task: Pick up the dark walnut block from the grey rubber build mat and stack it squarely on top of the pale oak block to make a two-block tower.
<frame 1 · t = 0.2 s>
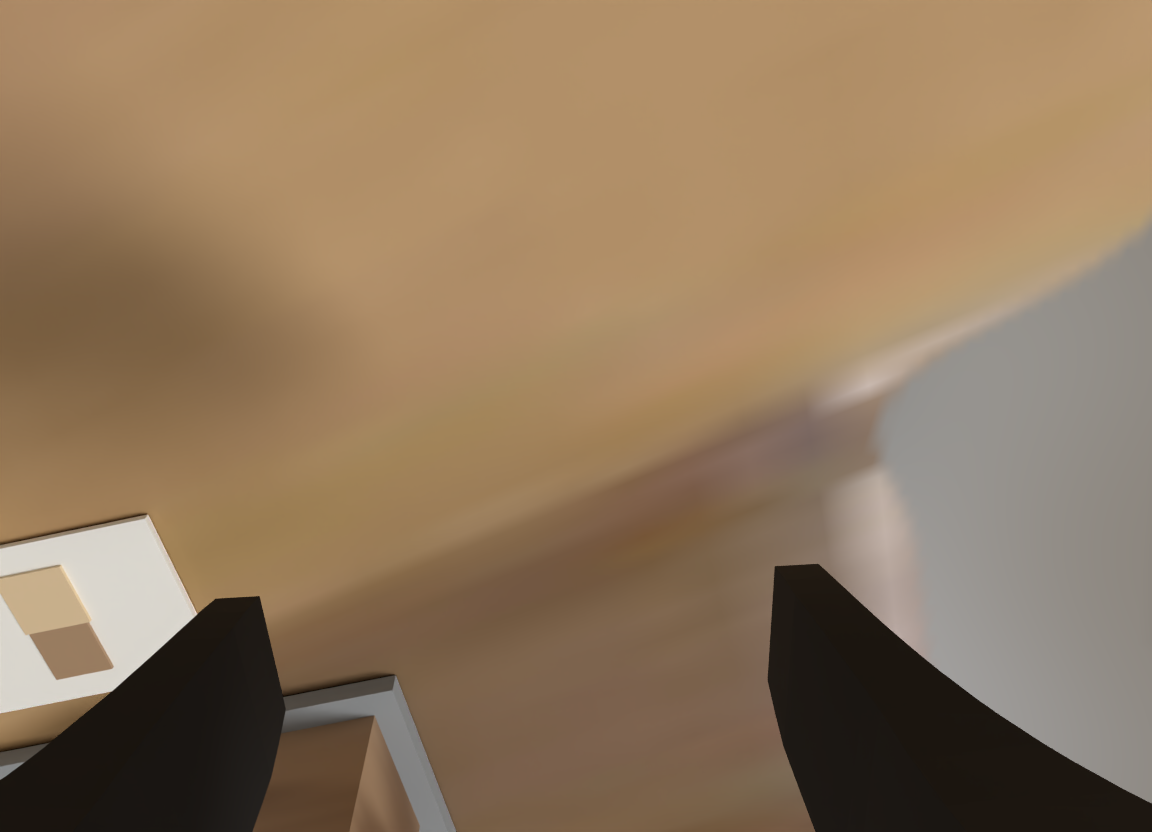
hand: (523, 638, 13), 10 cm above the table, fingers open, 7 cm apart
instruction card: (61, 618, 24), on the table
walnut block: (323, 786, 27), point 1 cm above the table, touching build mat
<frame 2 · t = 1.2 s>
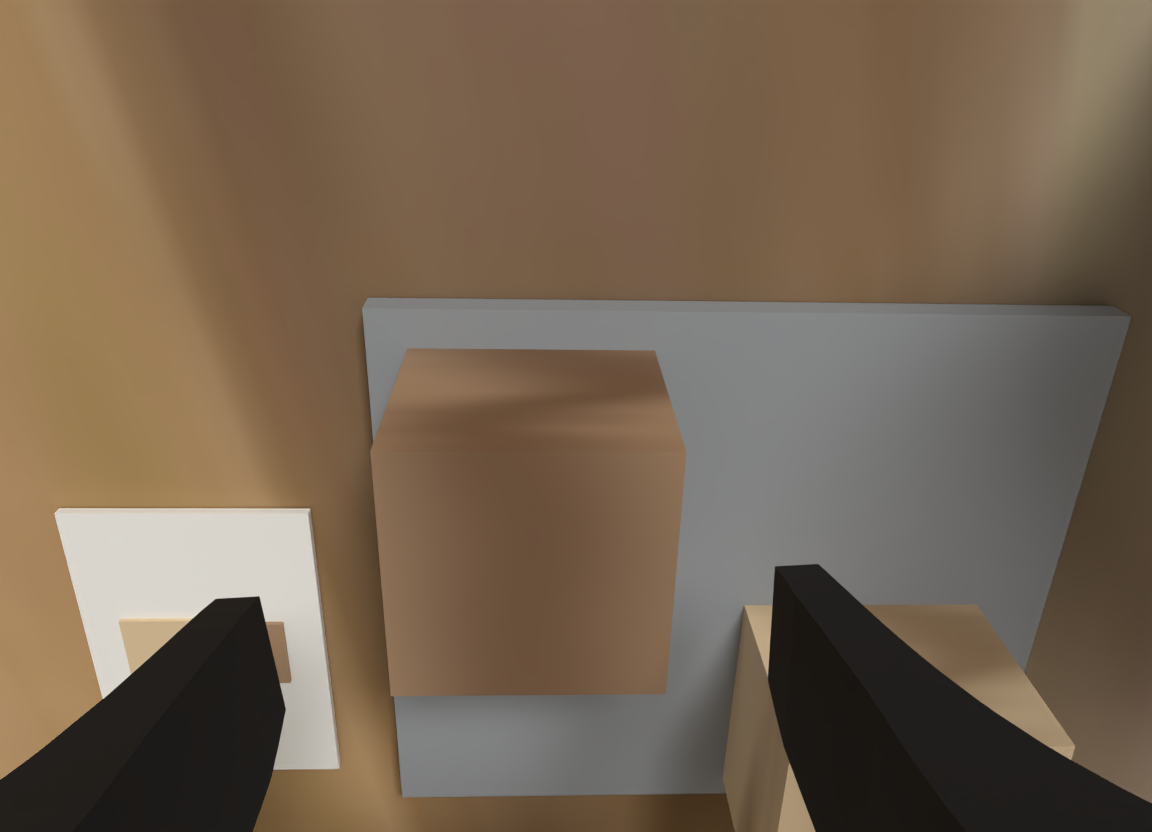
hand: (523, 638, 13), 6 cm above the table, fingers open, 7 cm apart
oak block: (843, 695, 20), point 1 cm above the table, touching build mat
instruction card: (211, 645, 20), on the table
walnut block: (531, 458, 18), point 1 cm above the table, touching build mat
build mat: (718, 569, 20), on the table
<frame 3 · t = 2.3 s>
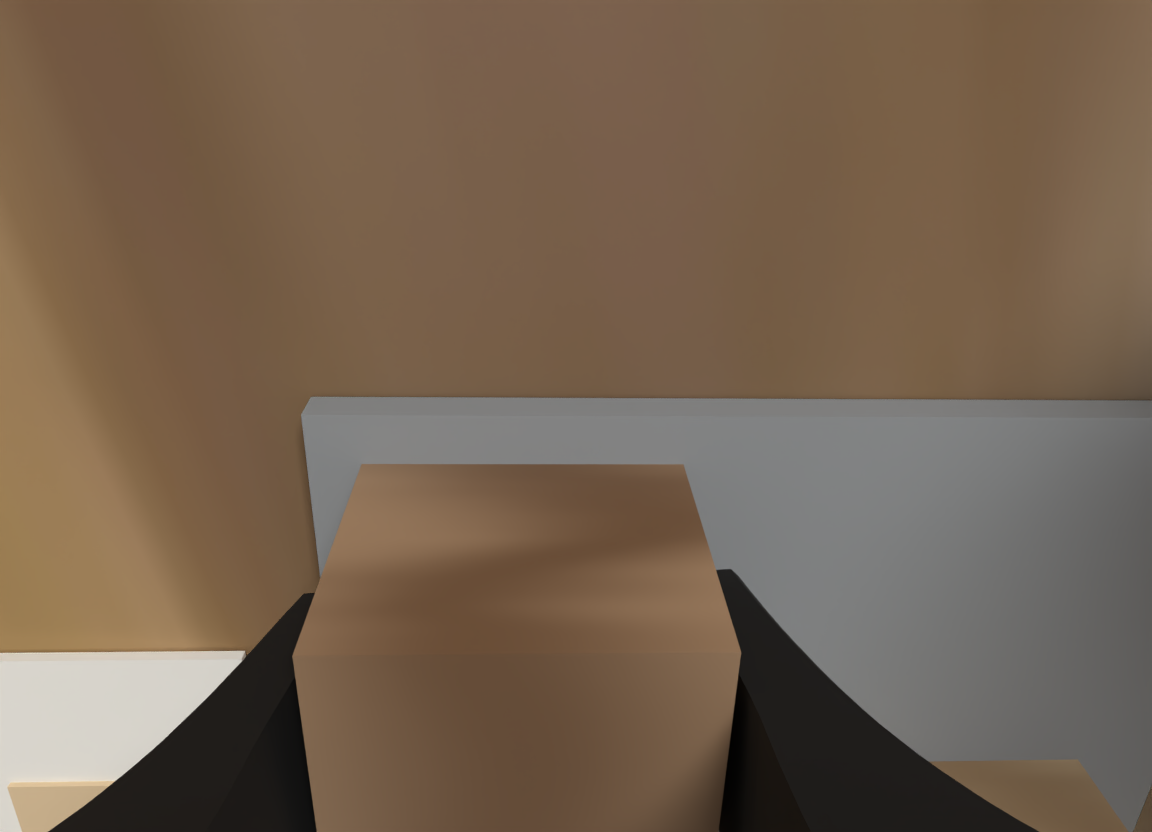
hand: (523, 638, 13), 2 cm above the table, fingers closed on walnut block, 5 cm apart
instruction card: (127, 809, 16), on the table
walnut block: (524, 595, 14), point 1 cm above the table, touching build mat, gripper
build mat: (756, 715, 16), on the table
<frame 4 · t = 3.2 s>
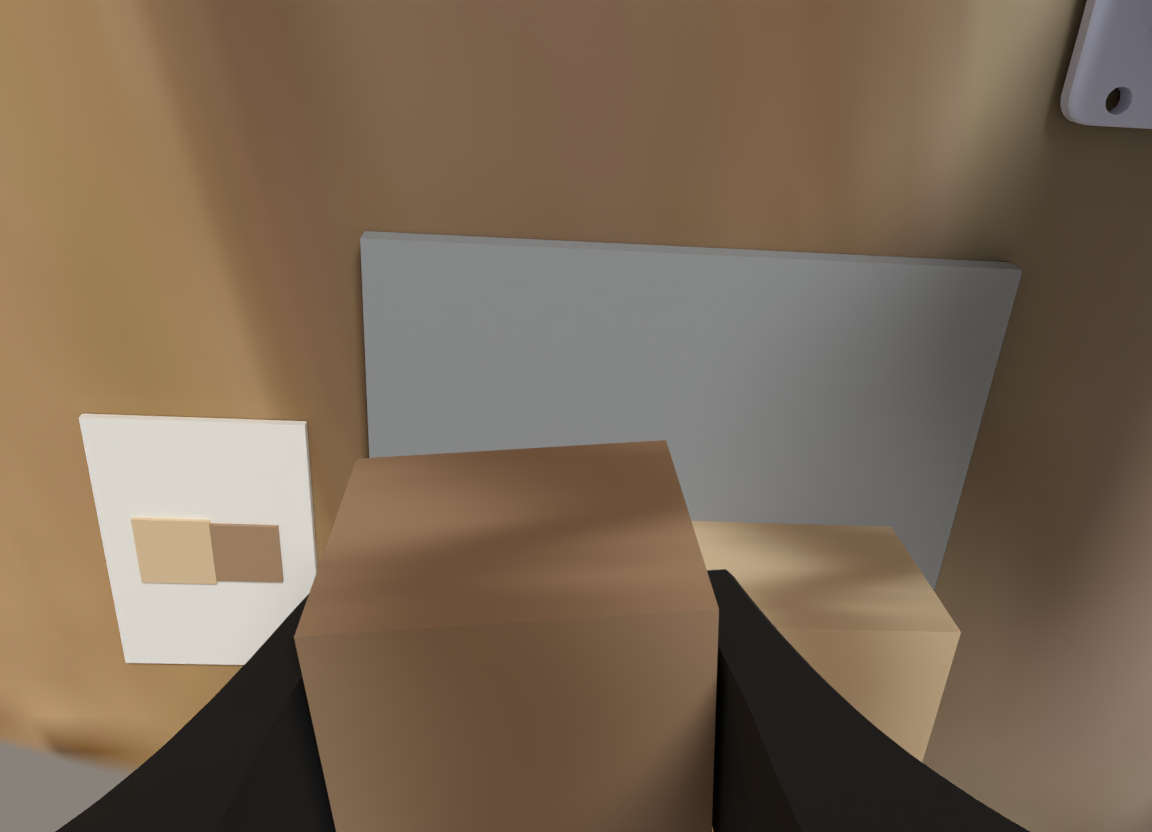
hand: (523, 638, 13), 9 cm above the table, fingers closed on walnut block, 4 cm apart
oak block: (774, 607, 23), point 1 cm above the table, touching build mat
instruction card: (212, 546, 22), on the table
walnut block: (522, 577, 14), point 7 cm above the table, touching gripper
build mat: (666, 489, 22), on the table
when the fingers open (7 cm above the table, at t = 4.6 s): walnut block stays where it is, resting on oak block.
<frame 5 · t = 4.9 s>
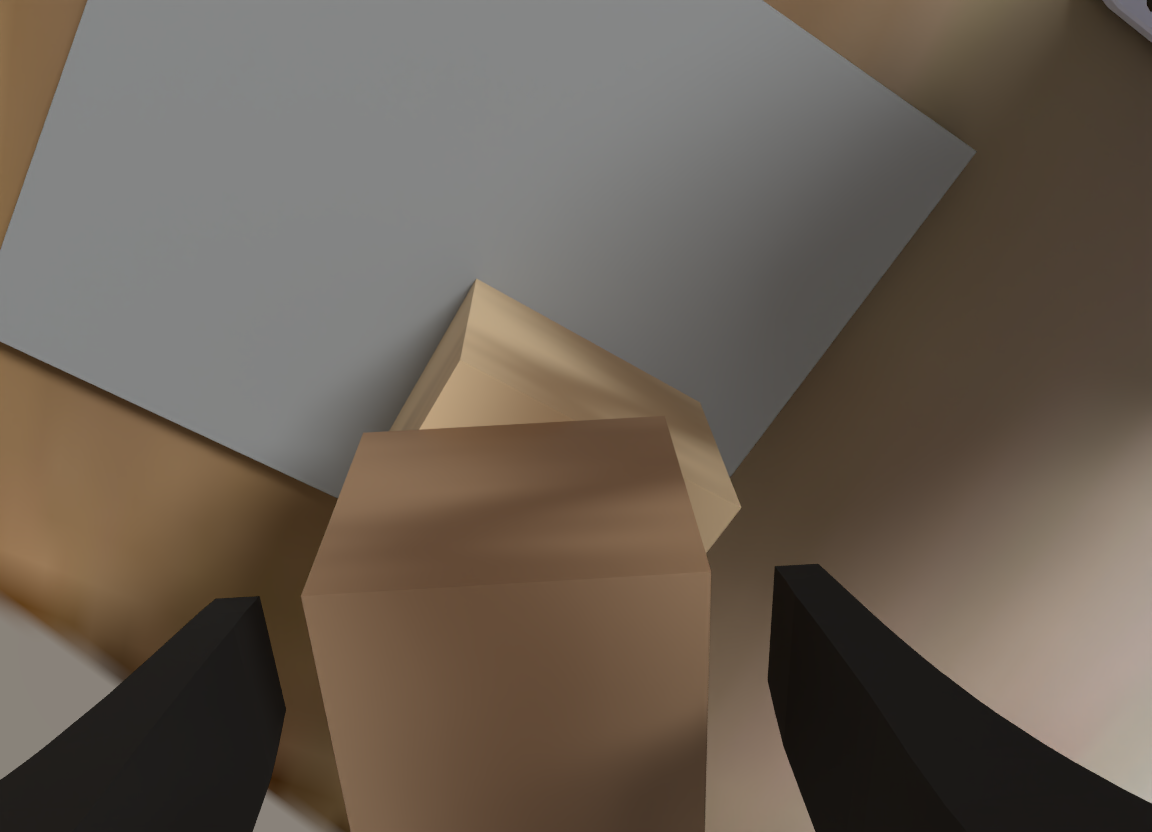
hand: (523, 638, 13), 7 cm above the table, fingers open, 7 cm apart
oak block: (527, 443, 18), point 1 cm above the table, touching build mat, walnut block
walnut block: (524, 550, 15), point 5 cm above the table, touching oak block
build mat: (467, 233, 17), on the table
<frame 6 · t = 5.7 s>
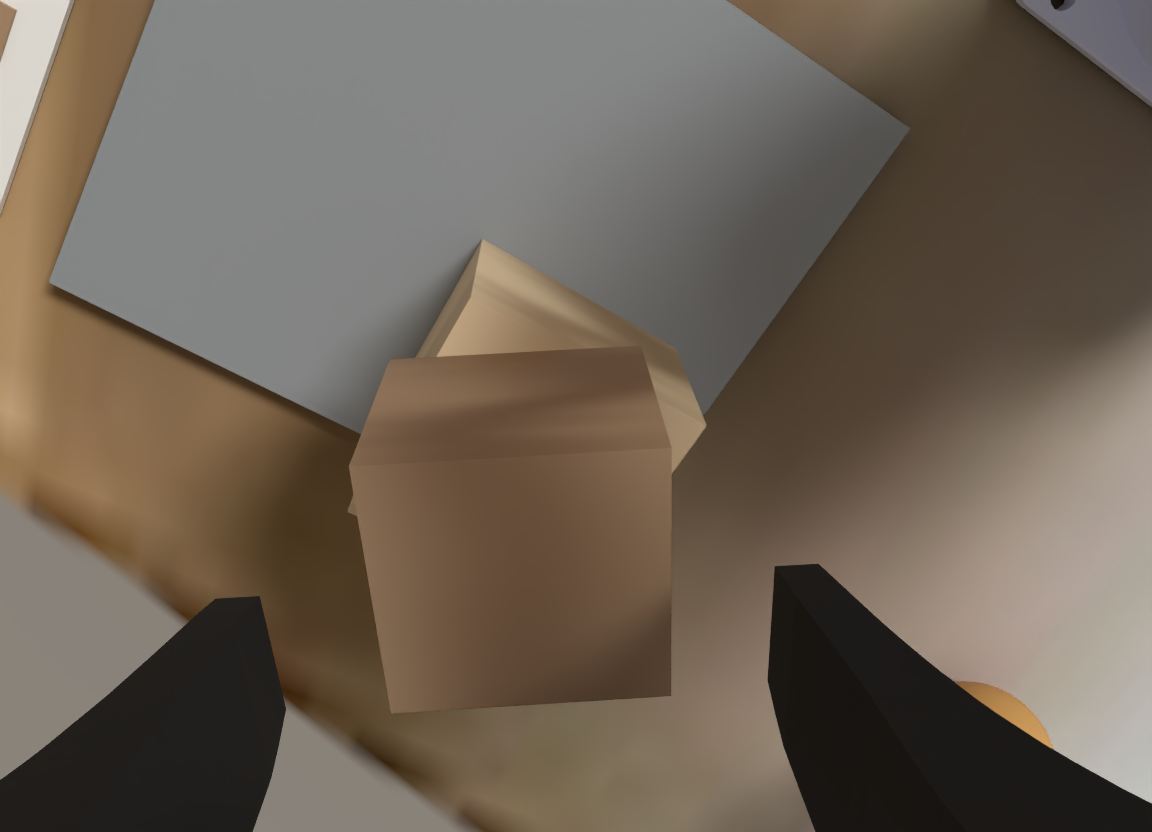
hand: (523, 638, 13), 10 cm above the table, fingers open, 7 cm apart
oak block: (526, 385, 21), point 1 cm above the table, touching build mat, walnut block
walnut block: (524, 463, 17), point 5 cm above the table, touching oak block
figurine: (971, 683, 26), on the table
build mat: (474, 200, 20), on the table
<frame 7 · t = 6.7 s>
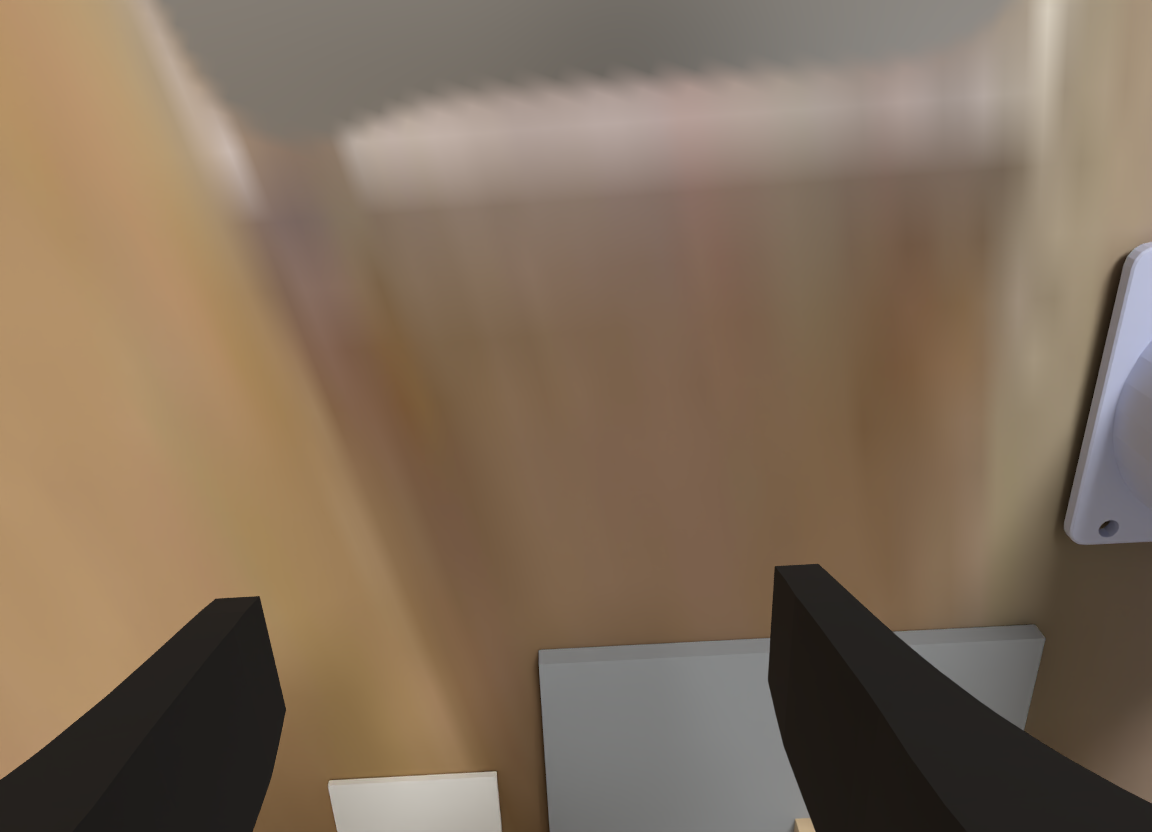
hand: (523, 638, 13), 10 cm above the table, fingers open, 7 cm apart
build mat: (775, 792, 28), on the table
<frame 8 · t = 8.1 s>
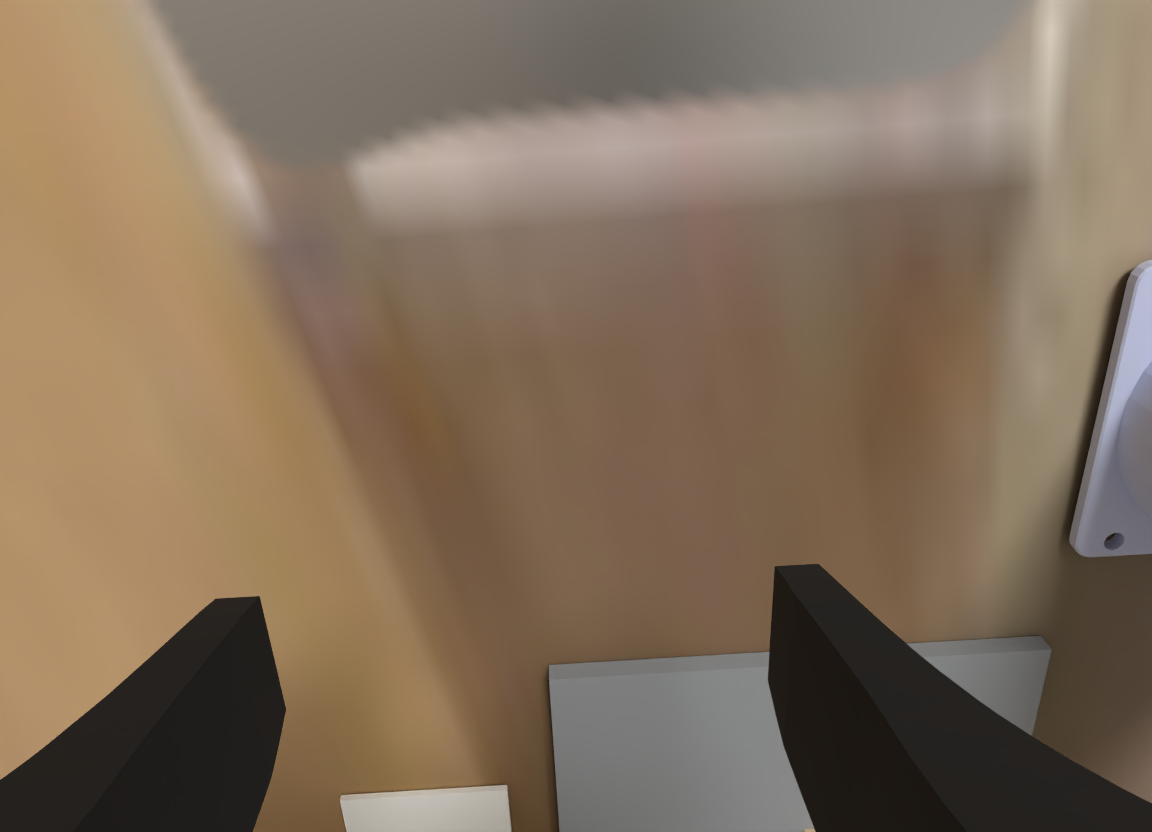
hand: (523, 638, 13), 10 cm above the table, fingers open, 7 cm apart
build mat: (784, 802, 28), on the table
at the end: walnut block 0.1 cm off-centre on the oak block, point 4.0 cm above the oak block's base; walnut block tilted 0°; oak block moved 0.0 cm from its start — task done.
